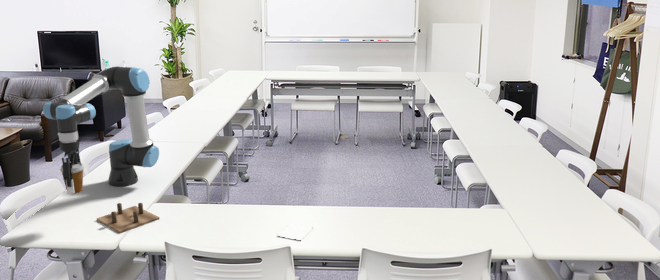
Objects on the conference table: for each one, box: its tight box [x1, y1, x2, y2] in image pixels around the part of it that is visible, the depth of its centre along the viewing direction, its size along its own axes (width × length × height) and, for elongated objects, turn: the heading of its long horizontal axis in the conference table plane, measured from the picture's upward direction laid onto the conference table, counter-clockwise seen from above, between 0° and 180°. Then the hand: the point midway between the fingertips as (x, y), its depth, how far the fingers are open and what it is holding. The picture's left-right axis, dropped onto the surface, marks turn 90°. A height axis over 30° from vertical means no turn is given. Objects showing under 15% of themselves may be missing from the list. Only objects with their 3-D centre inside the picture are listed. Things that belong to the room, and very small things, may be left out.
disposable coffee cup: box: [60, 162, 85, 194], centre depth 243 cm, size 10×10×12 cm
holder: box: [96, 202, 160, 234], centre depth 254 cm, size 20×20×6 cm
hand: (74, 189), depth 244 cm, fingers closed on disposable coffee cup, 8 cm apart
